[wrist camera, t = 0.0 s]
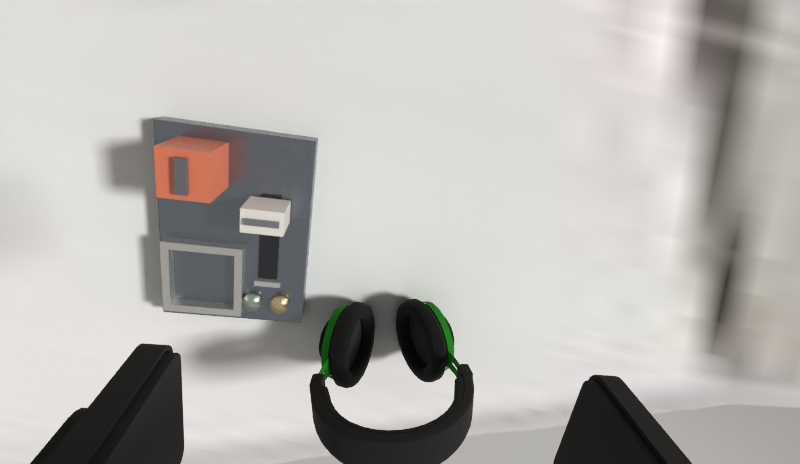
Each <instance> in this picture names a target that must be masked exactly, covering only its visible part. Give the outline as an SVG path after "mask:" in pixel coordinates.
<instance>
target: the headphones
mask: <svg viewBox="0 0 800 464" xmlns="http://www.w3.org/2000/svg"><path fill="white" fill-rule="evenodd" d="M424 303H425V304H424ZM374 331H375V325H374V316H373V313H372V310H371V308H370V307H369V306H368V305H367V304H365V303H361V302H354V303H352V304H351V305H350V306H341V307H339V308H338V309H337V310H336V311H335V312H334V314H333V315H332V317H331V319H330V320H329V321H328V322H327V323H326V325H325V327H324V329H323V331H322V334H321V338H320V343H319V353H320V356H321V362H322V368H321V370H320V372H319V374H313V376H312V379H311V382H310V394H311V403H312V411H313V421H314V425H315V428H316V432H317V434H318V436H319V438H320V440H321V442H322V443H323V445H324V446H325V447H326V449H327V450H328V451H329V452H330V453H331V454H332V455H333V456H334V457H335V458H337V459H338V460H339V461H340V462H342V463H343V464H440V463H442V462H443V461H445V460H446V459H447V458H449V457H450V456H451V455H452V454H453V453H454V452H455V451H456V450H457V449H458V448H459V446H460V445H461V443H462V442H463V441H464V439H465V437H466V435H467V433H468V430H469V428H470V425H471V420H472V410H473V396H474V384H473V373H472V371H471V370H470V368H469V366H468V365H467V364H460V365H459V363H458V361H457V360H456V359H455V358H454V336H453V332H452V329H451V326H450V324H449V323H448V321H447V319H446V318H445V317H444V316H443V314H442V313H441V311H440V310H439V308H437V307H436V306H435V305H434V304H433V303H431V302H421V301H419V300H417V299H411V300H407V301H405V302H404V303H402V304H401V305H400V306H399V308H398V311H397V317H396V332H397V337H398V342H399V345H400V348H401V351H402V354H403V356H404V358H405V360H406V362H407V365H408V366H409V368H410V369H411V370H412V372H413V373H414V374H415V375H416V376H417V377H418V378H419V379H420V380H422V381H424V382H433V381H436V380H438V379H440V378H441V377H442V375H443V374H444V371H445V370H447V369H448V368H450V369H451V370H452V372H453V373H454V374H455V375H456V377H457V378H456V379H455V391H454V401H453V403H452V405H451V406H450V408H449V409H448V410H447V411H446V412H445V413H444V414H443V415H441V416H440V417H439V418H437V419H436V420H433V421H431V422H429V423H427V424H425V425H421V426H418V427H415V428H410V429H404V430H389V431H387V430H375V429H370V428H366V427H362V426H359V425H357V424H354V423H352V422H349V421H348V420H346V419H345V418H344V417H342V416H341V415H340V414H339V413H338V412H337V411H336V410H335V408H334V406H333V404H332V403H331V399H330V395H329V392H328V388H327V387H325V380H326V378H327V377H330V378H332V379H334V381H335V383H336V384H337V385H338V386H341V387H344V388H349V387H353V386H354V385H356V384H357V383H358V382H359V380H360V379H361V377H362V376H363V374H364V372H365V370H366V368H367V365H368V363H369V359H370V356H371V352H372V347H373V342H374ZM452 363H454V364H455V366H456V367H457V370H456V368H455V367H454V366H453V365H452ZM445 367H446V369H445ZM323 373H325V374H323ZM331 375H332V376H331Z"/></svg>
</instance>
